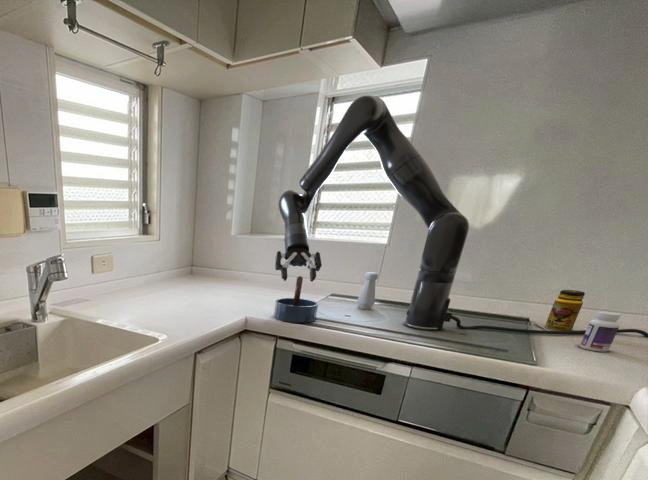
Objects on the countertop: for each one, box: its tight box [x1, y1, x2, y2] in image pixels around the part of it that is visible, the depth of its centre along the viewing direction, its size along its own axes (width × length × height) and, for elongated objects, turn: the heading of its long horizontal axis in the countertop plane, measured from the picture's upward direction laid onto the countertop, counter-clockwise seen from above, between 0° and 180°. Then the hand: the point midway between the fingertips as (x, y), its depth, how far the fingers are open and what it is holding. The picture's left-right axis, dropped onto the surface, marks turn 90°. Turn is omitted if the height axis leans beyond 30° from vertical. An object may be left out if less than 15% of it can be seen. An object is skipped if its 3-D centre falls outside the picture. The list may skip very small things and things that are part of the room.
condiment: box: [535, 289, 586, 331], centre depth 123 cm, size 7×8×12 cm
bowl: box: [273, 297, 319, 324], centre depth 133 cm, size 13×13×6 cm
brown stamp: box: [293, 275, 304, 306], centre depth 132 cm, size 5×5×13 cm
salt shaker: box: [356, 271, 379, 310], centre depth 147 cm, size 6×6×13 cm
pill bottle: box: [579, 311, 622, 353], centre depth 105 cm, size 5×5×10 cm
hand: (299, 279), depth 130 cm, fingers open, 8 cm apart
